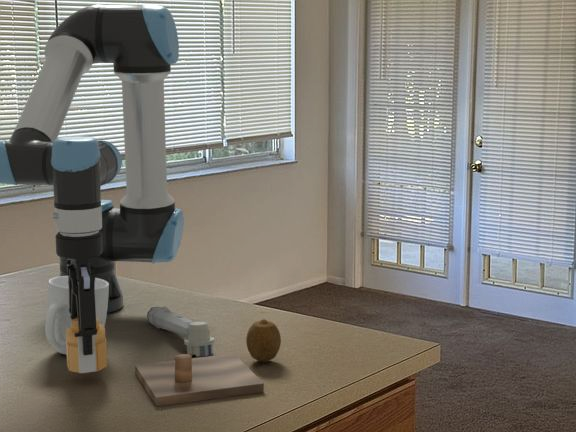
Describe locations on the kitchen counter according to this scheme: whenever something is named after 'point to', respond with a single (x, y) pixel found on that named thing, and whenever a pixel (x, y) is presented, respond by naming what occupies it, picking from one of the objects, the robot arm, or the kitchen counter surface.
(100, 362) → the acorn cap nut
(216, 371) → the post board
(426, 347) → the kitchen counter surface
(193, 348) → the electric scrub brush
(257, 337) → the fruit
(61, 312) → the mug
